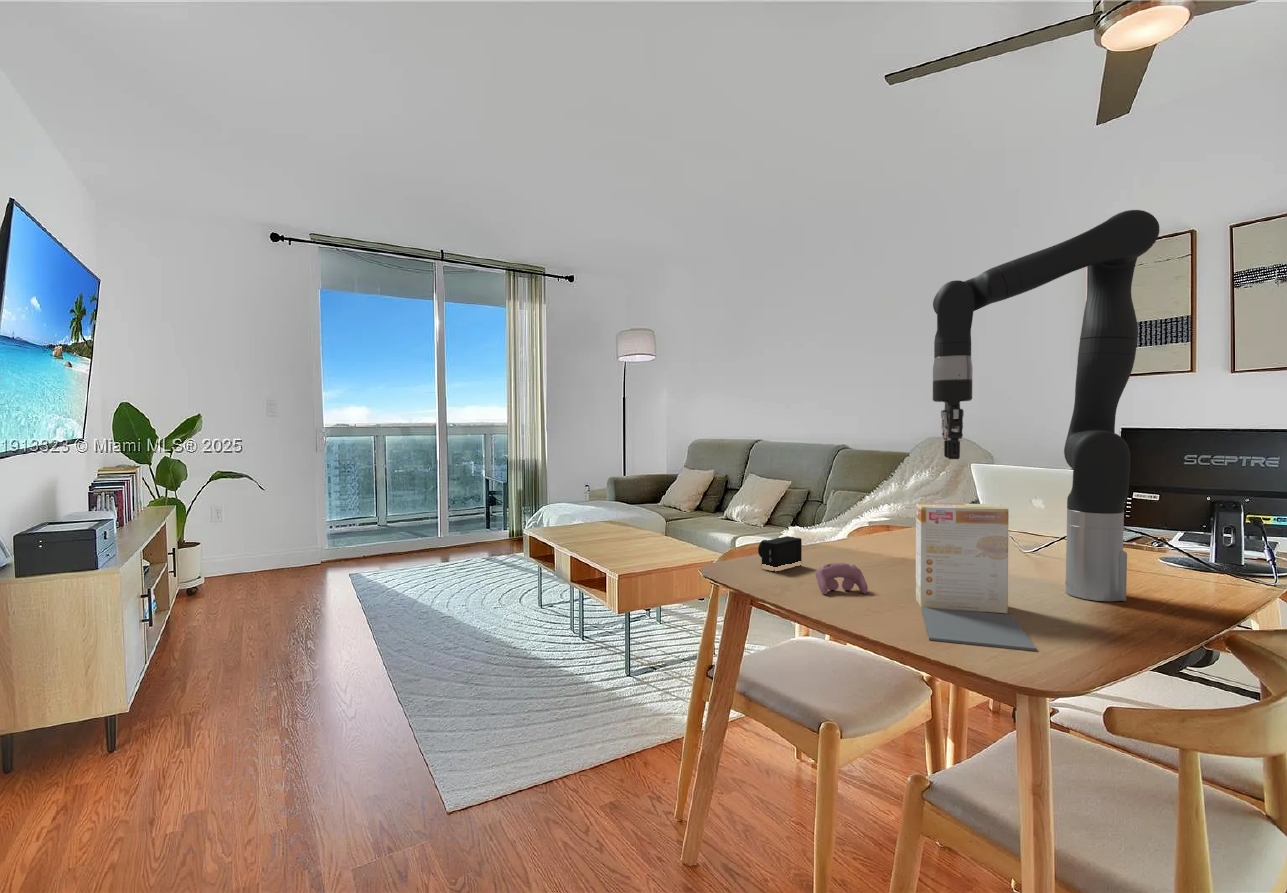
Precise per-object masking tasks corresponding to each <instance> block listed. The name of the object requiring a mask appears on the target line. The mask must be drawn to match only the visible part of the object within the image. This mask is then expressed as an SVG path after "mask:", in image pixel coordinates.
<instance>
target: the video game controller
mask: <svg viewBox="0 0 1287 893" xmlns="http://www.w3.org/2000/svg"><path fill="white" fill-rule="evenodd" d="M815 577H816V580H817V585H818V588H819V590H820V592H821V594H822V593H823V594H822V595H824V594H826V595H827V594H828V590H829V591H830V590H835V591H836V590H838V588H840V586H839V582H838V581H837V579H836V578H843V579H842V581H841V588H842V589H843V590H844V591H845V590H850V591H852V589H853V588H854V585H856V586H857V587H858V589H859V590H860V592H861V593H862V594H863V593H864V594H863V595H867V594H868V583H867V581H866V579H865V577H864V573H863V572H862V570H861V569H860V568H859V567H858V566H857V565H856V564H849V563H845V562H832V563H828V564H825V565H822V566H821V567H819V568H818V569H817V570H816V572H815Z"/></svg>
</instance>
